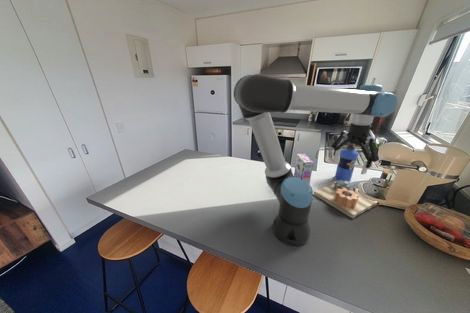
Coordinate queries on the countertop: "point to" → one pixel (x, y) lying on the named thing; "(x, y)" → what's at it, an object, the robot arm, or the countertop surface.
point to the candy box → (303, 167)
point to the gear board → (361, 206)
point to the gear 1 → (344, 185)
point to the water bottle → (346, 163)
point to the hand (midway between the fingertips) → (348, 167)
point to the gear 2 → (346, 198)
